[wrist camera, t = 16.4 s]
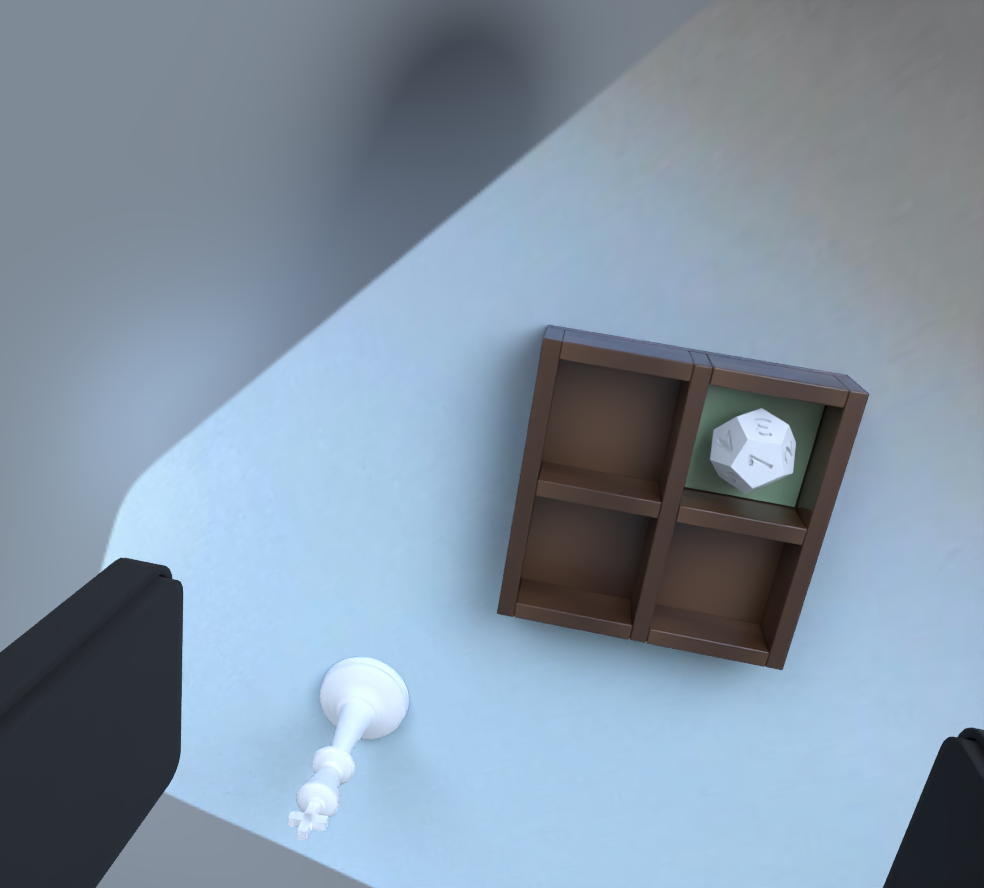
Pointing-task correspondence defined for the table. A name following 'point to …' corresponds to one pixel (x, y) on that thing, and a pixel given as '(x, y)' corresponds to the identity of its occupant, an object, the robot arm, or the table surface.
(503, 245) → the table surface
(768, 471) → the game die
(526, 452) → the grid
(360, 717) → the chess piece
